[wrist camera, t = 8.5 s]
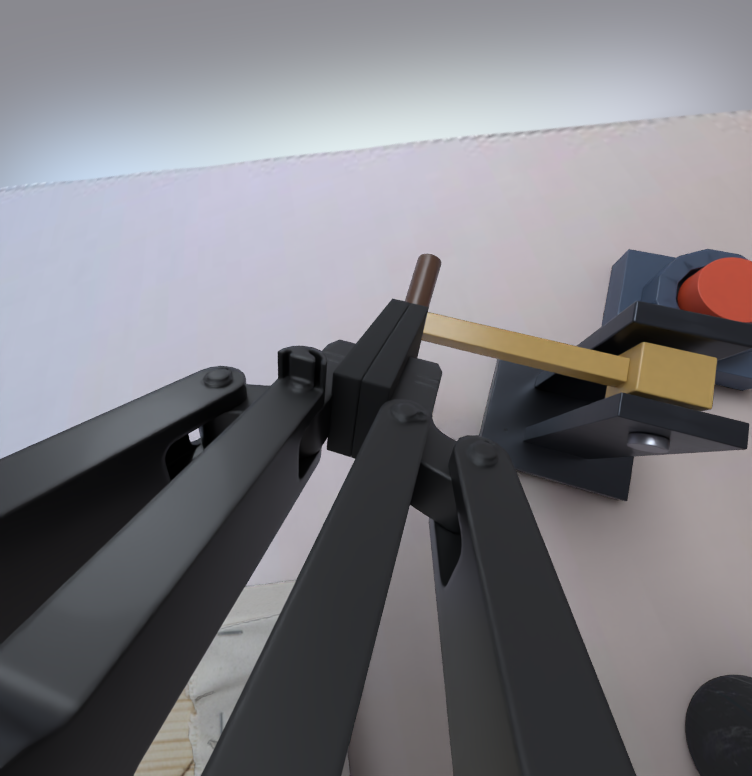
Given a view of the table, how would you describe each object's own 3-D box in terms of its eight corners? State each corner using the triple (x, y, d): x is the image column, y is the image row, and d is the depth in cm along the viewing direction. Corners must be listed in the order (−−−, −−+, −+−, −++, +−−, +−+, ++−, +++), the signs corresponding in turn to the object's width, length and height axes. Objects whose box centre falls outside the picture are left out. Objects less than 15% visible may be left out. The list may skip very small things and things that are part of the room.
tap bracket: (473, 457, 26) (531, 446, 13) (500, 346, 27) (573, 244, 15) (617, 499, 24) (837, 532, 12) (636, 378, 26) (844, 294, 13)
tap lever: (380, 393, 17) (376, 381, 15) (417, 271, 19) (418, 243, 16) (661, 470, 15) (706, 470, 13) (680, 327, 17) (724, 303, 14)
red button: (753, 280, 23) (781, 264, 21) (748, 340, 22) (776, 329, 20) (681, 266, 24) (701, 251, 22) (673, 324, 23) (694, 313, 21)
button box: (751, 292, 26) (810, 261, 22) (742, 391, 25) (804, 376, 21) (612, 265, 28) (644, 232, 24) (595, 356, 26) (627, 337, 22)
